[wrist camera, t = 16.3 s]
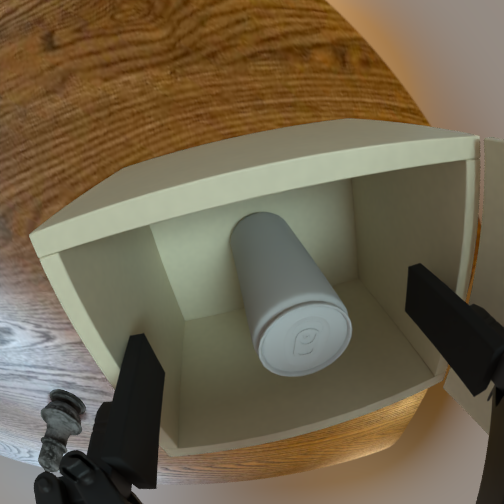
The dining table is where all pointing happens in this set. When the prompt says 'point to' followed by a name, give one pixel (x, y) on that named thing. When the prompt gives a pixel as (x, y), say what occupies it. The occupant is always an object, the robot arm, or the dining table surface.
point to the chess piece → (59, 427)
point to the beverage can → (287, 299)
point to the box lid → (486, 275)
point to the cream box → (226, 279)
